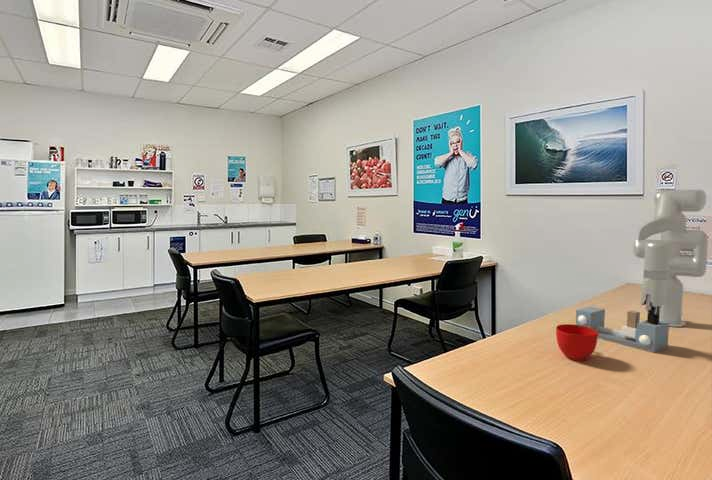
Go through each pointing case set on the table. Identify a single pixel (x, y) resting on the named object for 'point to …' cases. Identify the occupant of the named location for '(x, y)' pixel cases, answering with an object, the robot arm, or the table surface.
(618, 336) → the rail bed
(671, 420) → the table surface
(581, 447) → the table surface
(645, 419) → the table surface
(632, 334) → the carriage
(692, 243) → the robot arm
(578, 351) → the ceramic cup
